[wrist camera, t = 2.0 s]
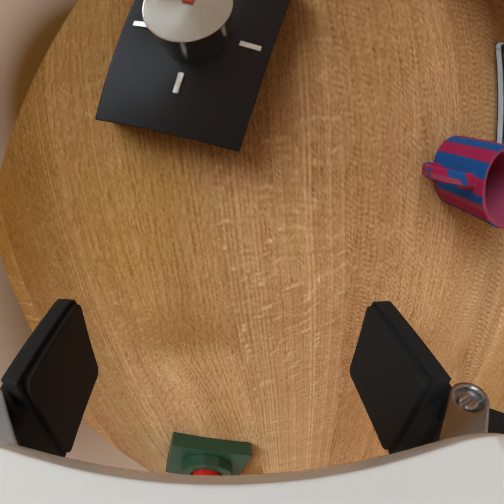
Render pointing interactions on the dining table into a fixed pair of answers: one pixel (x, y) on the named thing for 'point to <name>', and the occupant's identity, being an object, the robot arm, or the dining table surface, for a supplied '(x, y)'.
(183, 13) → the hob knob
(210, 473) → the button
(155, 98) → the panel
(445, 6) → the dining table surface
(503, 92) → the smartphone
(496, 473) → the robot arm
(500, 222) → the mug
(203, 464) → the block
